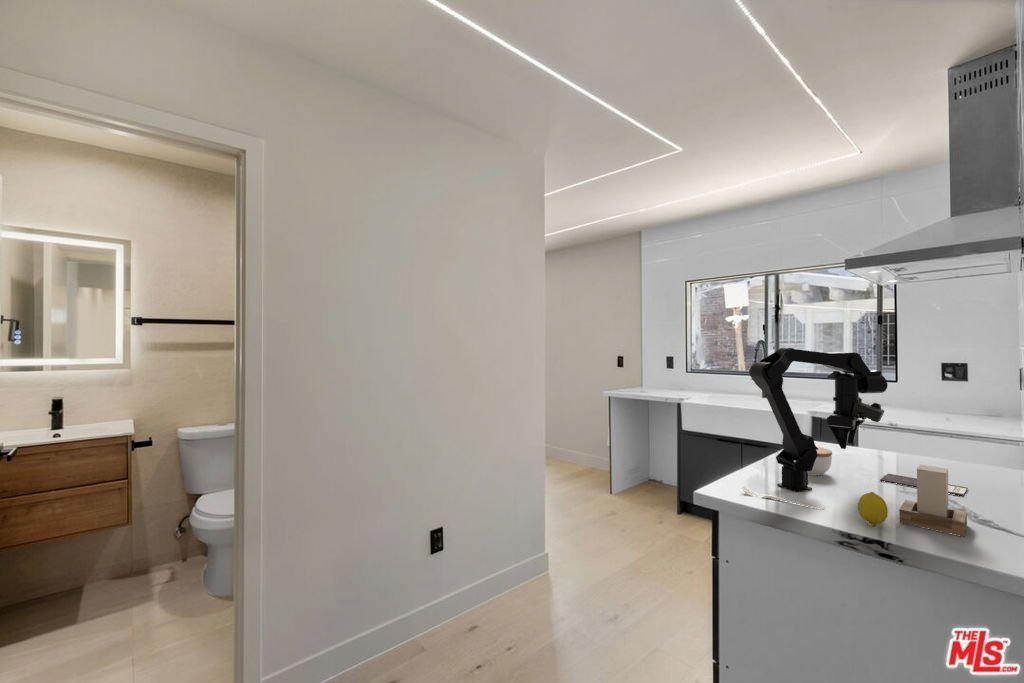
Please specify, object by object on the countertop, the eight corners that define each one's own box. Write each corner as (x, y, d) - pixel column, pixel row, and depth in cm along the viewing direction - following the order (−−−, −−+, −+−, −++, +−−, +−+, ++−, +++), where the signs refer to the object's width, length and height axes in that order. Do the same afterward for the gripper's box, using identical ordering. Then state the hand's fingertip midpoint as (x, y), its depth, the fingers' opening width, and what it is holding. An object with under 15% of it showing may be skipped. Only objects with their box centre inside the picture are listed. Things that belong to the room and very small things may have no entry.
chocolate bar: (887, 473, 143) (967, 487, 129) (887, 476, 143) (967, 490, 129) (880, 479, 138) (962, 495, 124) (880, 482, 138) (962, 498, 124)
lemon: (879, 532, 103) (879, 497, 103) (852, 523, 108) (852, 490, 108) (893, 527, 105) (892, 493, 105) (866, 519, 110) (866, 486, 110)
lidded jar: (785, 471, 150) (785, 443, 149) (806, 466, 154) (805, 439, 154) (819, 480, 140) (818, 450, 140) (839, 475, 144) (839, 446, 144)
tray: (964, 537, 100) (964, 522, 100) (899, 522, 108) (899, 509, 108) (967, 525, 106) (966, 511, 106) (905, 512, 114) (905, 499, 114)
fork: (823, 515, 115) (823, 507, 115) (740, 494, 129) (740, 488, 129) (825, 511, 117) (826, 504, 117) (744, 491, 131) (744, 485, 131)
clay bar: (946, 525, 103) (946, 473, 103) (917, 518, 107) (916, 468, 107) (948, 518, 106) (948, 468, 106) (920, 513, 110) (919, 464, 110)
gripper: (874, 399, 121) (875, 457, 121) (887, 393, 134) (887, 445, 134) (825, 396, 130) (826, 449, 130) (842, 390, 142) (842, 439, 142)
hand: (847, 446), depth 134 cm, fingers open, 9 cm apart
